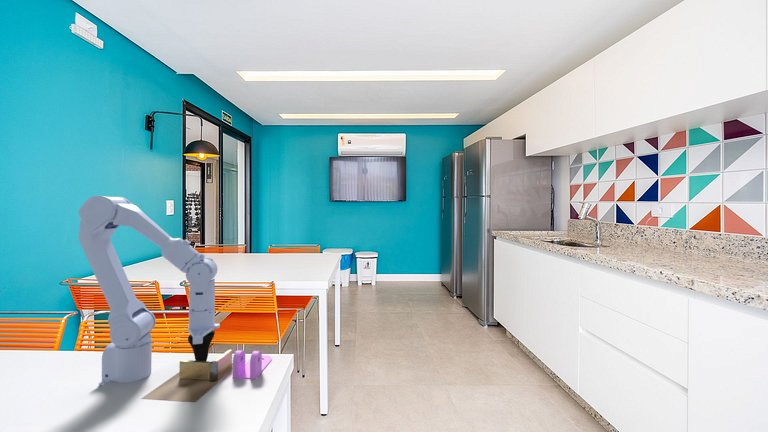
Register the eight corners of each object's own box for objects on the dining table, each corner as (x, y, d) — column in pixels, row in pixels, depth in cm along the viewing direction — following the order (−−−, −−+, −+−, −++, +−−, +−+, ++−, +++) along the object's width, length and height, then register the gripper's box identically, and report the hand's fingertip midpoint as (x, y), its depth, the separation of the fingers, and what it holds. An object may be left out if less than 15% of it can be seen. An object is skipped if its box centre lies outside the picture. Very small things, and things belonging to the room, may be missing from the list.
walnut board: (141, 403, 76) (141, 398, 76) (195, 364, 95) (195, 360, 95) (195, 406, 76) (195, 402, 75) (239, 367, 94) (239, 363, 94)
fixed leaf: (207, 381, 84) (208, 363, 84) (227, 365, 93) (227, 349, 93) (215, 382, 84) (215, 364, 84) (233, 366, 93) (234, 349, 93)
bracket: (255, 383, 86) (255, 354, 86) (232, 382, 86) (232, 353, 86) (274, 360, 99) (274, 335, 99) (254, 360, 99) (254, 334, 99)
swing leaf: (181, 376, 86) (181, 359, 86) (209, 378, 86) (209, 361, 85) (179, 378, 85) (179, 361, 85) (207, 379, 85) (208, 362, 85)
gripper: (216, 315, 84) (216, 373, 84) (222, 300, 98) (221, 349, 98) (182, 317, 82) (182, 377, 82) (193, 301, 95) (192, 352, 96)
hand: (201, 362), depth 90 cm, fingers closed
